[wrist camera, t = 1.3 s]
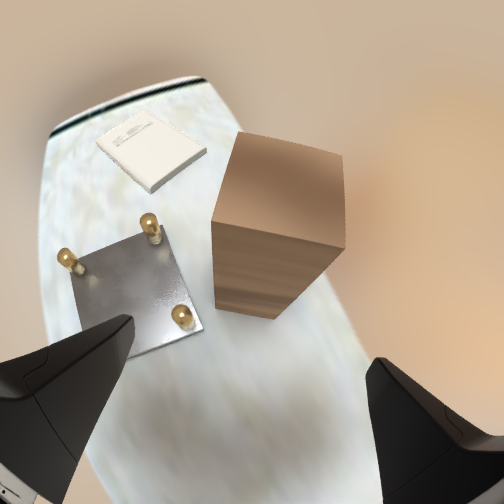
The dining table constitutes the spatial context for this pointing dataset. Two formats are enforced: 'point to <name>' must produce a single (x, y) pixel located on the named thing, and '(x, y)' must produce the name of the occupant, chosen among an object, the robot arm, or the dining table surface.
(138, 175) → the external hard drive
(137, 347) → the plate
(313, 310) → the dining table surface
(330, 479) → the dining table surface
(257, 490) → the dining table surface
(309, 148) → the walnut post
